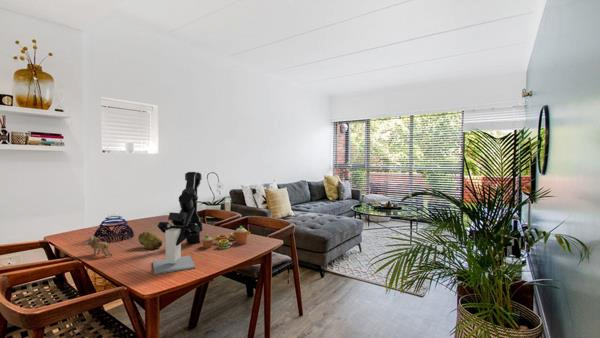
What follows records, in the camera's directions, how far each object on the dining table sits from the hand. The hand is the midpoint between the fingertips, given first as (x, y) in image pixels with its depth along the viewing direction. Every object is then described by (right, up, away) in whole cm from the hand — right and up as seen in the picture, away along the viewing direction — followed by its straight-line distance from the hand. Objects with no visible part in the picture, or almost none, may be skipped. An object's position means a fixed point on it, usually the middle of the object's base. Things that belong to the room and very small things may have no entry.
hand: (171, 244), depth 131 cm
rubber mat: (0, -10, +2) cm, 10 cm away
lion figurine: (-41, -9, +14) cm, 45 cm away
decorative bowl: (-53, -8, +45) cm, 70 cm away
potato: (-23, -8, +27) cm, 36 cm away
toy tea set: (+16, -9, +34) cm, 39 cm away
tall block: (0, -7, +2) cm, 7 cm away
